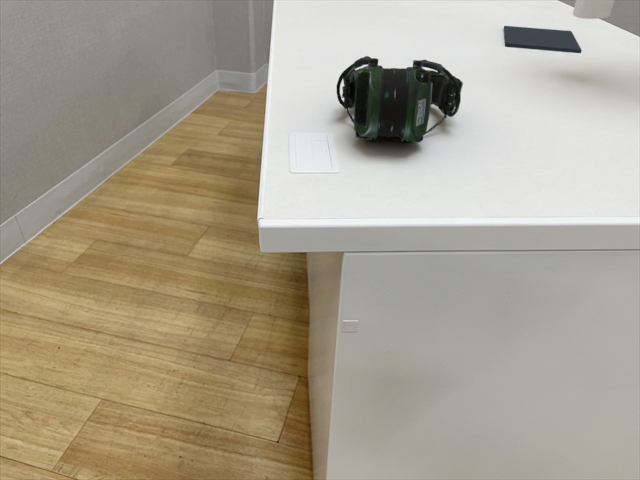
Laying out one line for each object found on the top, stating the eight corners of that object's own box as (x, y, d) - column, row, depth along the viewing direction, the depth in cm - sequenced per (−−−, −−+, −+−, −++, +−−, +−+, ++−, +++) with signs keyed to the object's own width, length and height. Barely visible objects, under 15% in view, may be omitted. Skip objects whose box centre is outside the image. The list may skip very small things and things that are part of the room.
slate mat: (570, 33, 110) (571, 31, 110) (580, 52, 98) (581, 49, 97) (503, 28, 113) (504, 25, 113) (505, 46, 101) (505, 43, 100)
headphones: (491, 114, 55) (461, 83, 73) (412, 15, 51) (401, 8, 69) (394, 191, 60) (389, 145, 77) (316, 105, 56) (329, 78, 74)
